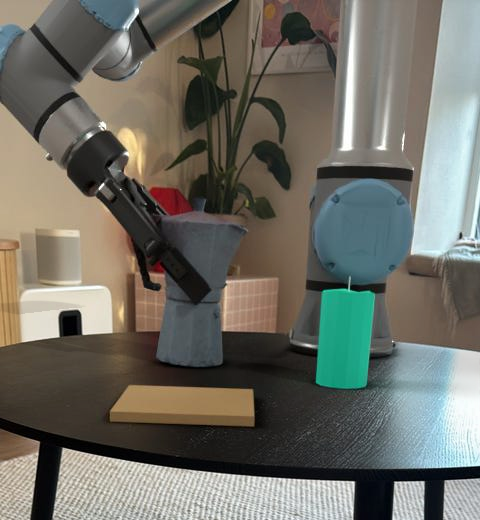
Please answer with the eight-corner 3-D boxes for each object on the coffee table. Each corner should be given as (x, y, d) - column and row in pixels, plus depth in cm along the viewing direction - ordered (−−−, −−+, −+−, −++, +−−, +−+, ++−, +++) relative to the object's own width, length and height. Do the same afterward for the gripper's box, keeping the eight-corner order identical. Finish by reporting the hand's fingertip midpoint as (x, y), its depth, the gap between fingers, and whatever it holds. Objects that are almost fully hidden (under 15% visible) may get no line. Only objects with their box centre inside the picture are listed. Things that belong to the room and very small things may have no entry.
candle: (355, 390, 85) (365, 279, 80) (307, 384, 87) (314, 275, 83) (374, 382, 89) (384, 277, 85) (327, 376, 92) (335, 274, 88)
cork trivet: (252, 398, 79) (253, 389, 79) (254, 426, 68) (254, 416, 67) (129, 394, 79) (128, 384, 79) (109, 421, 68) (109, 411, 67)
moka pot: (236, 372, 93) (242, 196, 86) (117, 363, 95) (113, 192, 88) (250, 360, 102) (257, 199, 94) (141, 353, 104) (140, 196, 97)
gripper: (97, 180, 103) (209, 307, 106) (29, 167, 83) (169, 324, 86) (134, 137, 100) (248, 269, 103) (72, 114, 80) (215, 278, 84)
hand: (212, 294), depth 95 cm, fingers closed on moka pot, 8 cm apart
